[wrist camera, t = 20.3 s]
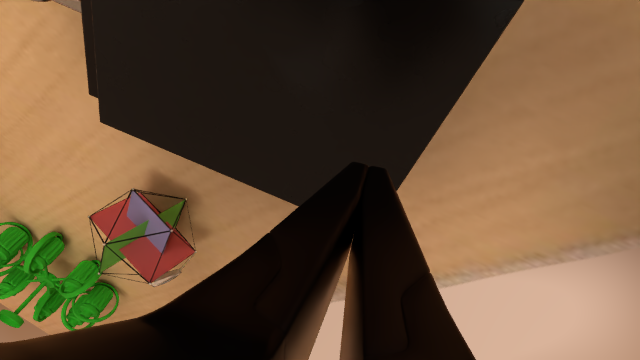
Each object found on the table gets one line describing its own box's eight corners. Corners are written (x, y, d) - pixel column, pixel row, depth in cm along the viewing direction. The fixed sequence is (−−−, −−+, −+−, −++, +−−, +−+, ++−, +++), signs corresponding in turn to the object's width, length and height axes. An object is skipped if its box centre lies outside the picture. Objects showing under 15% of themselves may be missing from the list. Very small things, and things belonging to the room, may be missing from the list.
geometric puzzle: (84, 216, 31) (86, 312, 27) (90, 161, 27) (93, 266, 23) (177, 214, 35) (190, 297, 31) (195, 165, 31) (214, 255, 27)
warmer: (160, 75, 24) (99, 122, 19) (178, -273, 14) (65, -329, 10) (380, 170, 24) (367, 235, 20) (543, -104, 14) (584, -89, 10)
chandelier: (122, 321, 48) (82, 378, 42) (4, 268, 46) (-51, 319, 41) (132, 258, 38) (83, 322, 33) (-17, 188, 36) (-93, 243, 31)
